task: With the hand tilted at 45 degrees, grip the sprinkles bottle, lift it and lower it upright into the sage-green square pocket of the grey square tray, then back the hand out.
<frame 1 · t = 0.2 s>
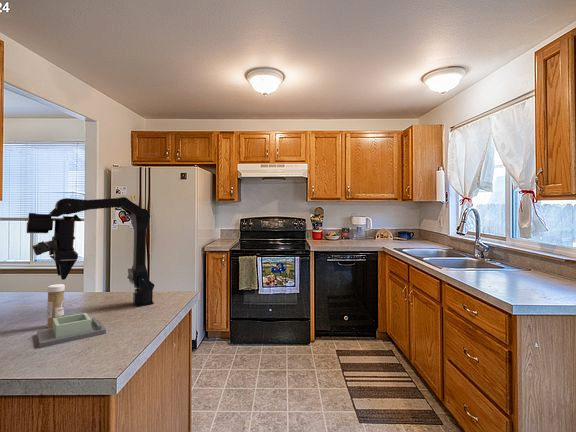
hand: (61, 277, 107), 15 cm above the countertop, tool pointing down, fingers open, 9 cm apart
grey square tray: (71, 334, 93), on the countertop
sprinkles bottle: (55, 326, 100), on the countertop
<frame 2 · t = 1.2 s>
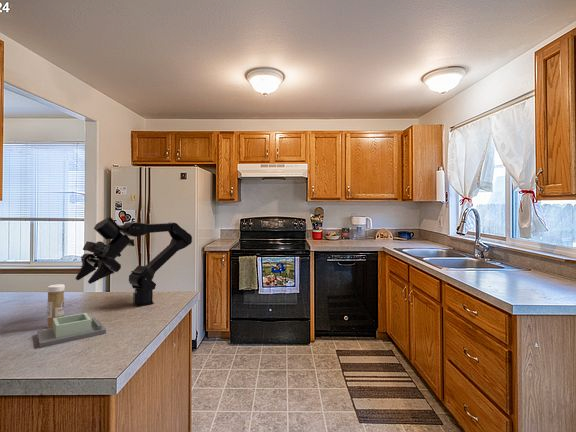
hand: (82, 281, 107), 13 cm above the countertop, tool tilted 45°, fingers open, 9 cm apart
nothing on the countertop moved.
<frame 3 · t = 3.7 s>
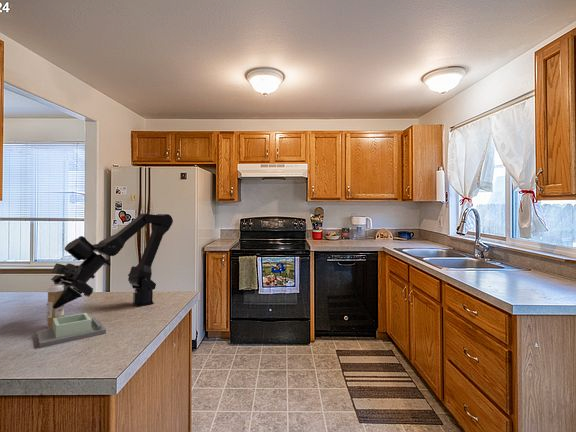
hand: (50, 306, 99), 7 cm above the countertop, tool tilted 45°, fingers closed on sprinkles bottle, 4 cm apart
sprinkles bottle: (55, 326, 100), on the countertop, touching gripper
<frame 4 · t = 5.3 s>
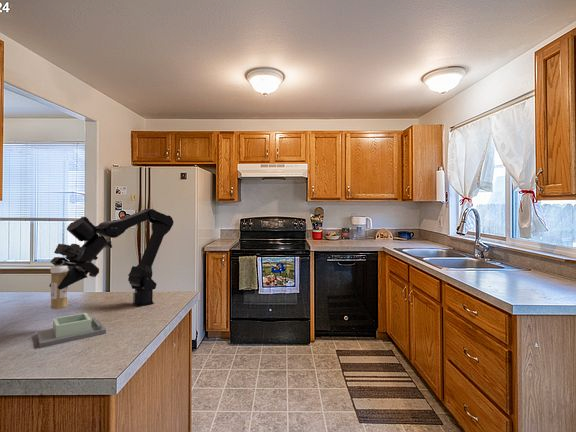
hand: (54, 288, 96), 13 cm above the countertop, tool tilted 45°, fingers closed on sprinkles bottle, 4 cm apart
sprinkles bottle: (59, 308, 97), point 7 cm above the countertop, touching gripper
when the fingers open (9 cm above the countertop, at t = 7.1 s): sprinkles bottle drops 1 cm, resting on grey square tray.
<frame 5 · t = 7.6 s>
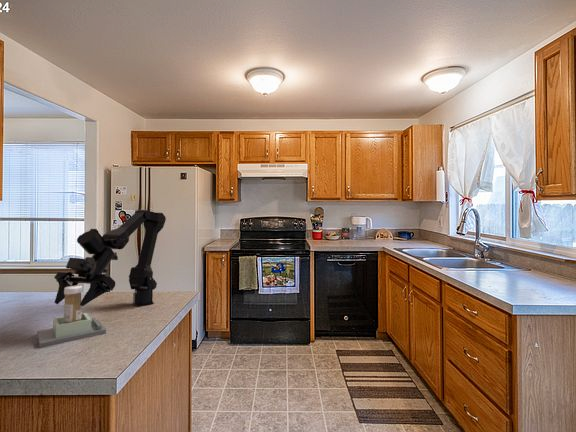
hand: (68, 304, 92), 10 cm above the countertop, tool tilted 45°, fingers open, 9 cm apart
sprinkles bottle: (72, 330, 93), point 1 cm above the countertop, touching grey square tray
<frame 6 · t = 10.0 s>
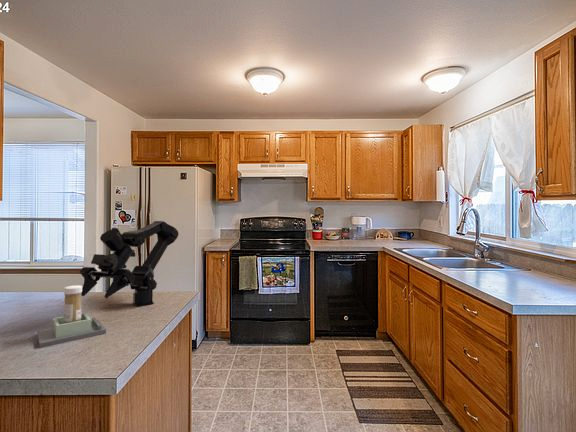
hand: (93, 296, 101), 10 cm above the countertop, tool tilted 45°, fingers open, 9 cm apart
nothing on the countertop moved.
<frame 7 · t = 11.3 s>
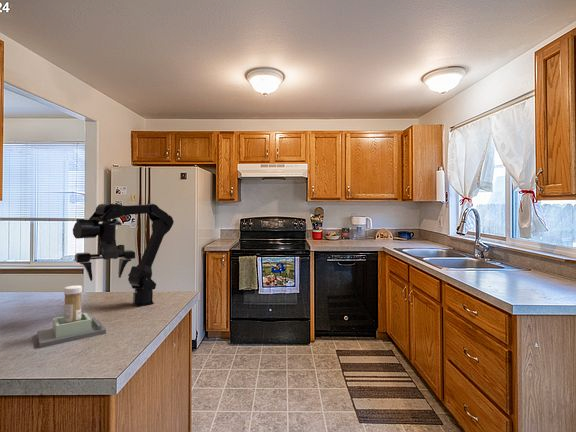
hand: (105, 279, 112), 13 cm above the countertop, tool pointing down, fingers open, 9 cm apart
nothing on the countertop moved.
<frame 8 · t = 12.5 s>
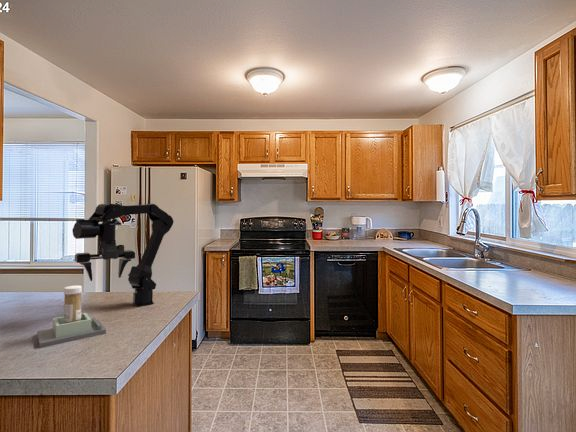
hand: (105, 279, 112), 13 cm above the countertop, tool pointing down, fingers open, 9 cm apart
nothing on the countertop moved.
at the end: sprinkles bottle 0.2 cm off-centre on the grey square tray, point 1.0 cm above the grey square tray's base; sprinkles bottle tilted 0°; the gripper is holding nothing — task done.
